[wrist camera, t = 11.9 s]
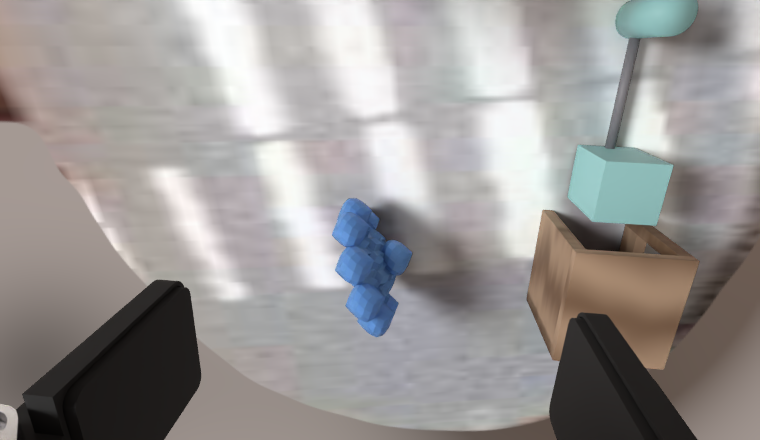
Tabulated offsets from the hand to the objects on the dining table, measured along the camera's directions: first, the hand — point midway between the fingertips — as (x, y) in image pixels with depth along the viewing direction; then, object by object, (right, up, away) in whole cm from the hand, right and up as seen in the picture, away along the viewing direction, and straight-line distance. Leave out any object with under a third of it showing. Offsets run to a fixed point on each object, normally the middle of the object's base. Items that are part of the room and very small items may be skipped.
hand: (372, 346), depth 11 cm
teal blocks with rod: (+21, +13, +28) cm, 37 cm away
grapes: (0, +1, +34) cm, 34 cm away
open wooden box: (+20, -1, +33) cm, 39 cm away
